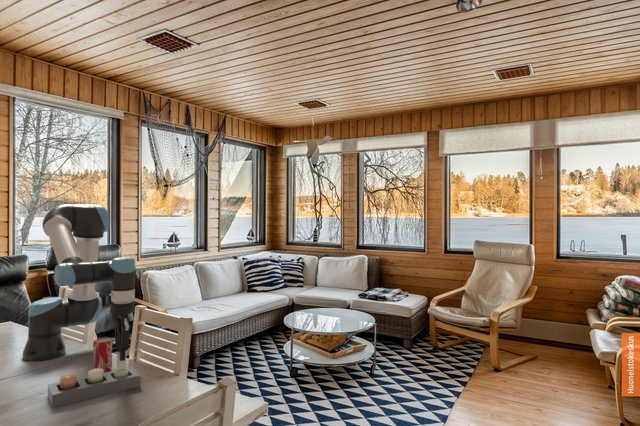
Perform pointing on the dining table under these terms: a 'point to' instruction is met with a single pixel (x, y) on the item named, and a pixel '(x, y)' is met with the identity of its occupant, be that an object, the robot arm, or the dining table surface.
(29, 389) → the dining table surface
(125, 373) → the button sage
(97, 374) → the button cream
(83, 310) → the robot arm
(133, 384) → the grey slotted tray
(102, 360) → the beverage can
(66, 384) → the button rust
